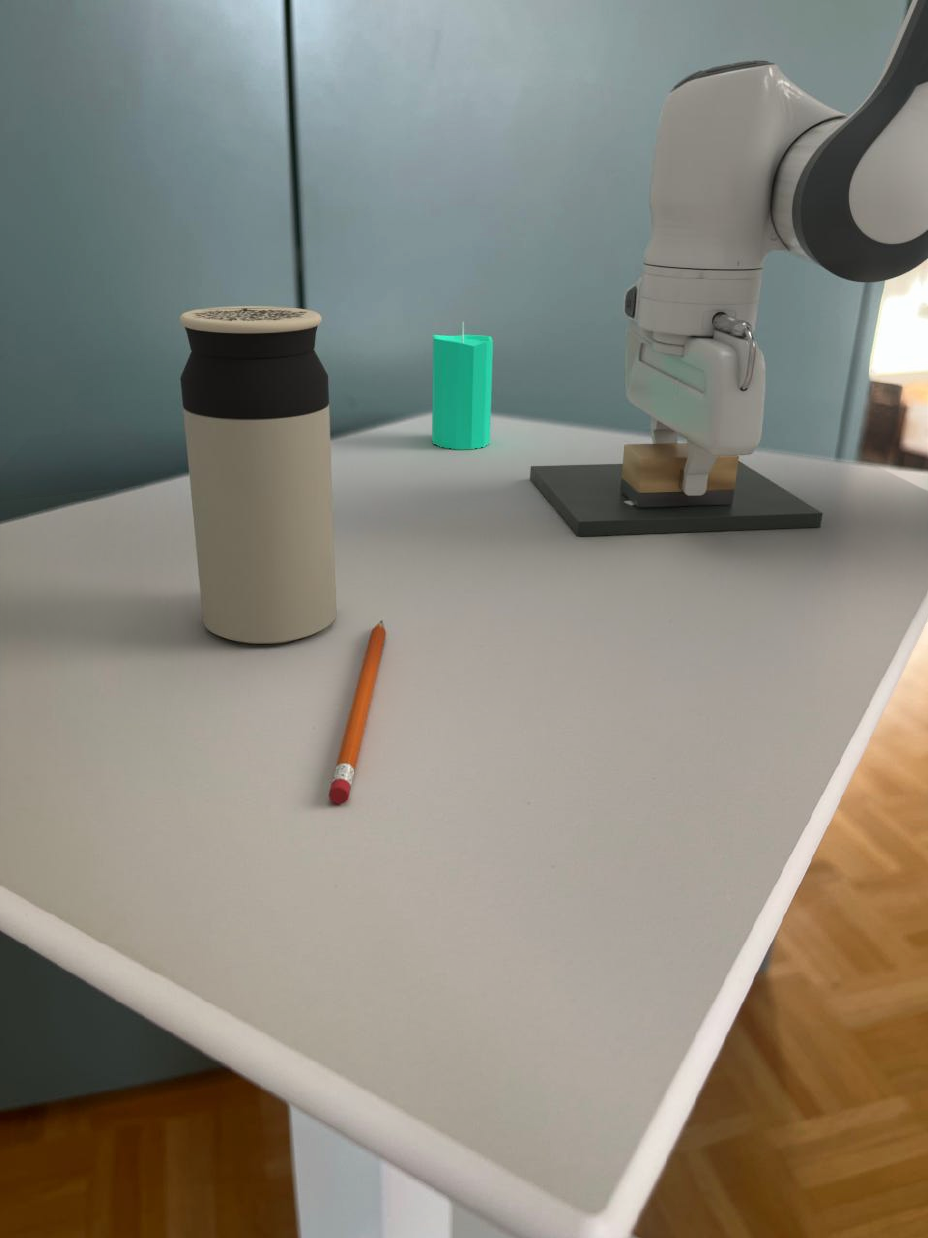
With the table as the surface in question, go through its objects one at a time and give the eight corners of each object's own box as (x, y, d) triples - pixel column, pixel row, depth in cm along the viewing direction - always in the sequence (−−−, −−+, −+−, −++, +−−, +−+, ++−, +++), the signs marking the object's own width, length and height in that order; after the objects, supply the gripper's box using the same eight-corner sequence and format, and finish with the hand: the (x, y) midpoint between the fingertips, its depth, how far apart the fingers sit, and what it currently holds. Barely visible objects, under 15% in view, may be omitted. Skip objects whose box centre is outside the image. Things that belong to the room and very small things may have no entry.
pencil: (328, 804, 43) (328, 787, 43) (374, 626, 61) (374, 613, 60) (348, 805, 43) (348, 787, 43) (389, 626, 61) (388, 613, 60)
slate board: (737, 472, 94) (738, 459, 94) (820, 527, 80) (823, 512, 79) (529, 478, 91) (530, 465, 90) (577, 536, 76) (578, 520, 76)
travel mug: (340, 644, 58) (329, 323, 51) (199, 651, 57) (166, 323, 49) (333, 592, 65) (323, 304, 58) (208, 598, 64) (181, 304, 57)
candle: (426, 447, 100) (427, 324, 96) (437, 433, 106) (438, 316, 101) (485, 451, 100) (489, 326, 95) (493, 437, 105) (497, 318, 100)
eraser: (710, 488, 85) (716, 441, 83) (732, 504, 81) (739, 456, 79) (619, 491, 83) (624, 444, 82) (637, 507, 79) (642, 458, 78)
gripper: (801, 324, 67) (770, 521, 73) (687, 291, 85) (670, 450, 91) (712, 324, 66) (688, 524, 72) (616, 291, 84) (603, 452, 90)
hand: (677, 482), depth 81 cm, fingers closed on eraser, 4 cm apart
